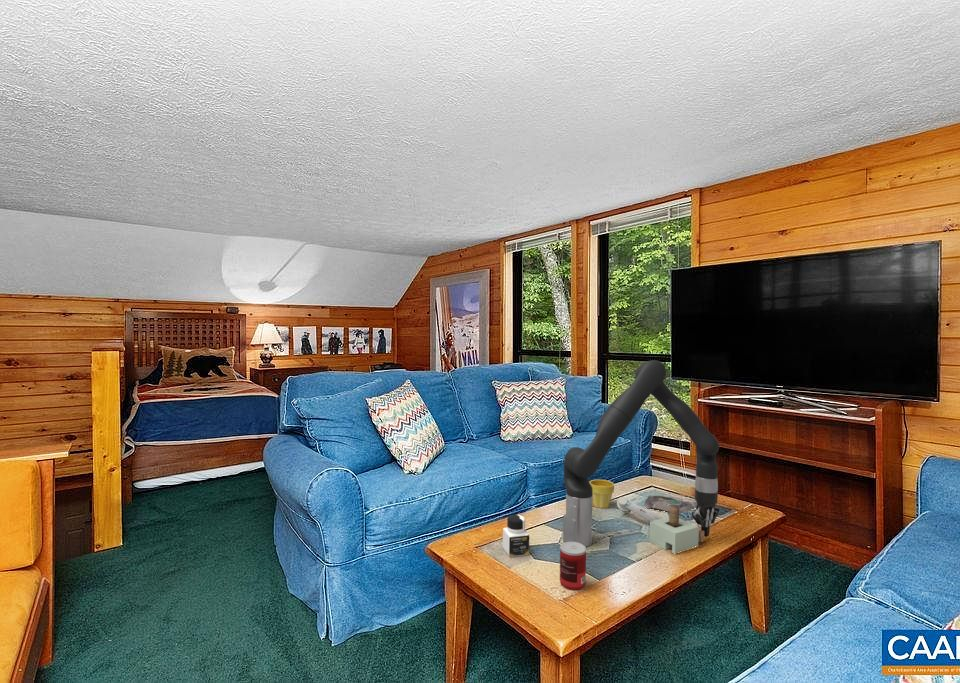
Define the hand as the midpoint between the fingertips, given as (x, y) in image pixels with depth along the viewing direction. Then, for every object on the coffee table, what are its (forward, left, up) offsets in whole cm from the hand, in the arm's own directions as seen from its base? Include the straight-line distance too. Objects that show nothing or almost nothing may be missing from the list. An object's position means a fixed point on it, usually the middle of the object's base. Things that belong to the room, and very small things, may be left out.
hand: (705, 535), depth 176 cm
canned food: (-62, -1, -2) cm, 62 cm away
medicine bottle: (-66, +24, -2) cm, 70 cm away
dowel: (-13, +3, +2) cm, 14 cm away
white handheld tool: (-7, +21, 0) cm, 22 cm away
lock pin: (-9, 0, -1) cm, 9 cm away
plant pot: (-10, +43, -2) cm, 44 cm away
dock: (-13, +3, -2) cm, 14 cm away
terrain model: (+15, +28, -3) cm, 32 cm away
